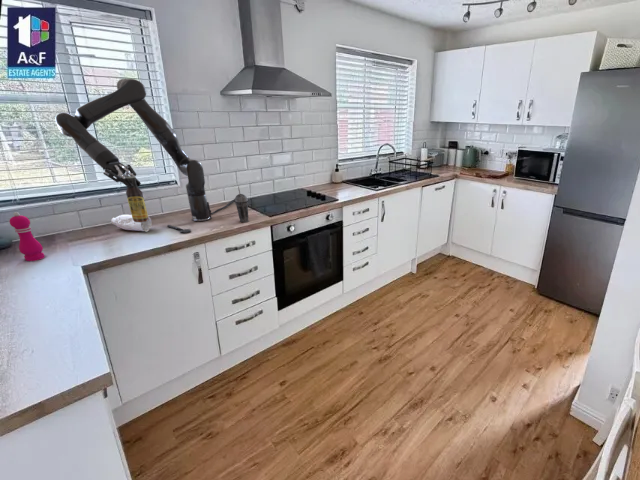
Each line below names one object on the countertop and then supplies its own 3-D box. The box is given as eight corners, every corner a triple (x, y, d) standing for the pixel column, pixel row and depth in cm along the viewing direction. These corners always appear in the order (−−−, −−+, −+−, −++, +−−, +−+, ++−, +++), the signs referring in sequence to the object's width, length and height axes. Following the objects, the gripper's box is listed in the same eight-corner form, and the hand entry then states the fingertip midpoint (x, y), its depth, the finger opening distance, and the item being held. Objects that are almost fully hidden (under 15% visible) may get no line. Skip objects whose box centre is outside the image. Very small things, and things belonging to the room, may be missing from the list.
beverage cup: (253, 219, 216) (248, 185, 207) (247, 223, 209) (242, 187, 200) (241, 219, 216) (236, 184, 207) (235, 222, 210) (229, 187, 201)
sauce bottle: (133, 223, 166) (119, 179, 157) (134, 219, 171) (120, 176, 161) (149, 222, 169) (136, 178, 159) (150, 217, 174) (137, 175, 164)
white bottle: (122, 226, 197) (117, 211, 194) (154, 228, 195) (150, 214, 192) (110, 230, 190) (105, 215, 187) (143, 233, 188) (139, 218, 185)
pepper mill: (28, 263, 151) (7, 215, 142) (21, 259, 155) (0, 212, 146) (49, 257, 157) (30, 211, 148) (42, 254, 160) (23, 208, 151)
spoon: (172, 225, 201) (172, 223, 200) (192, 231, 193) (192, 229, 193) (163, 228, 197) (163, 225, 197) (184, 234, 189) (183, 231, 189)
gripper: (91, 151, 150) (127, 183, 154) (118, 147, 163) (151, 177, 167) (84, 164, 153) (119, 195, 157) (111, 159, 166) (143, 188, 170)
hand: (135, 186), depth 162 cm, fingers closed on sauce bottle, 4 cm apart
